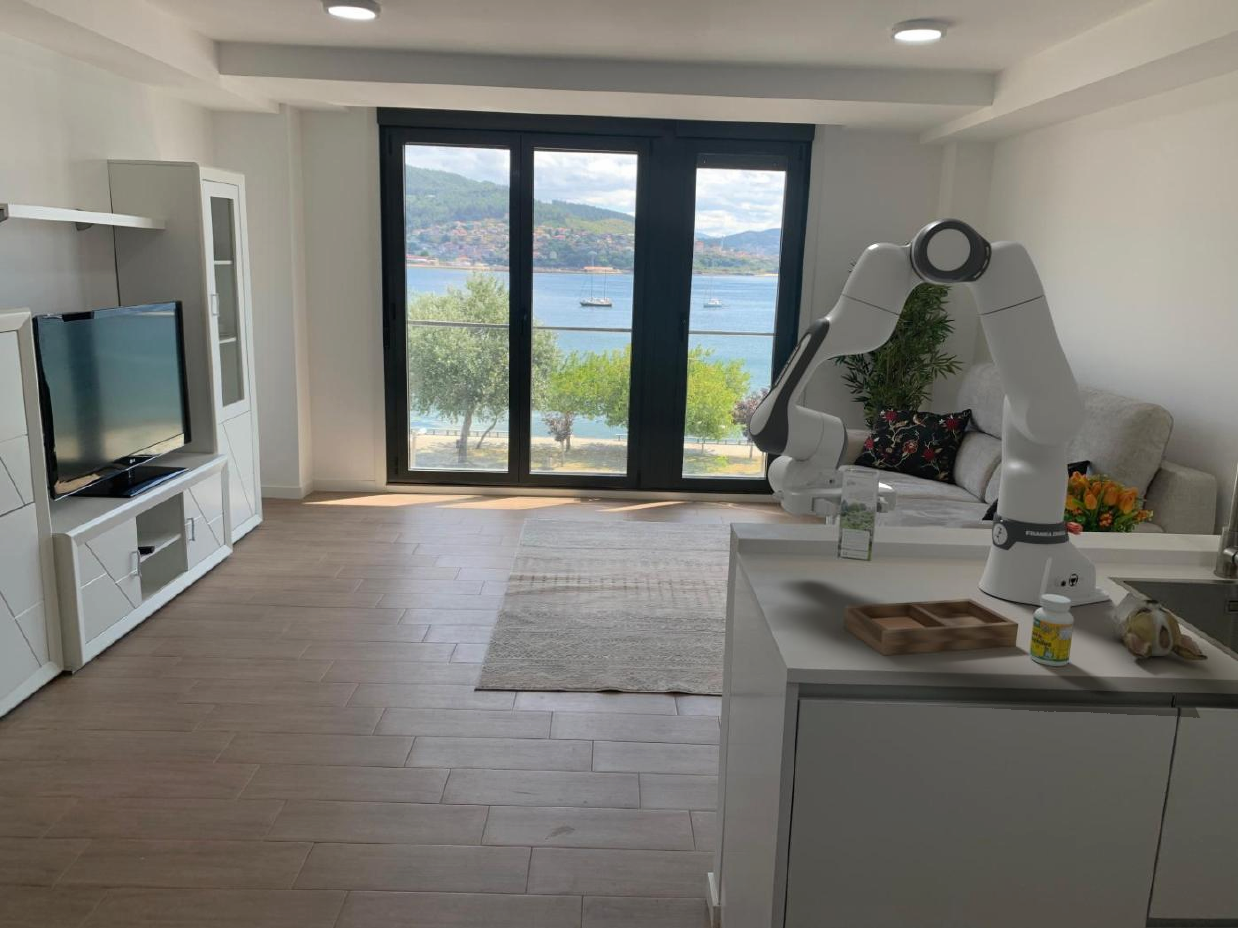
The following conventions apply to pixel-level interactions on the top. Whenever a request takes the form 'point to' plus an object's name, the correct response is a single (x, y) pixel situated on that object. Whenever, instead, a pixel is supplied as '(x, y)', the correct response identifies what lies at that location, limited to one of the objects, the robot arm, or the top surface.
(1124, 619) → the tan plush toy
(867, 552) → the syrup box
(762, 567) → the top surface
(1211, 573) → the top surface
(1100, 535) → the top surface
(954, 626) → the divided wooden tray
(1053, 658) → the supplement bottle
